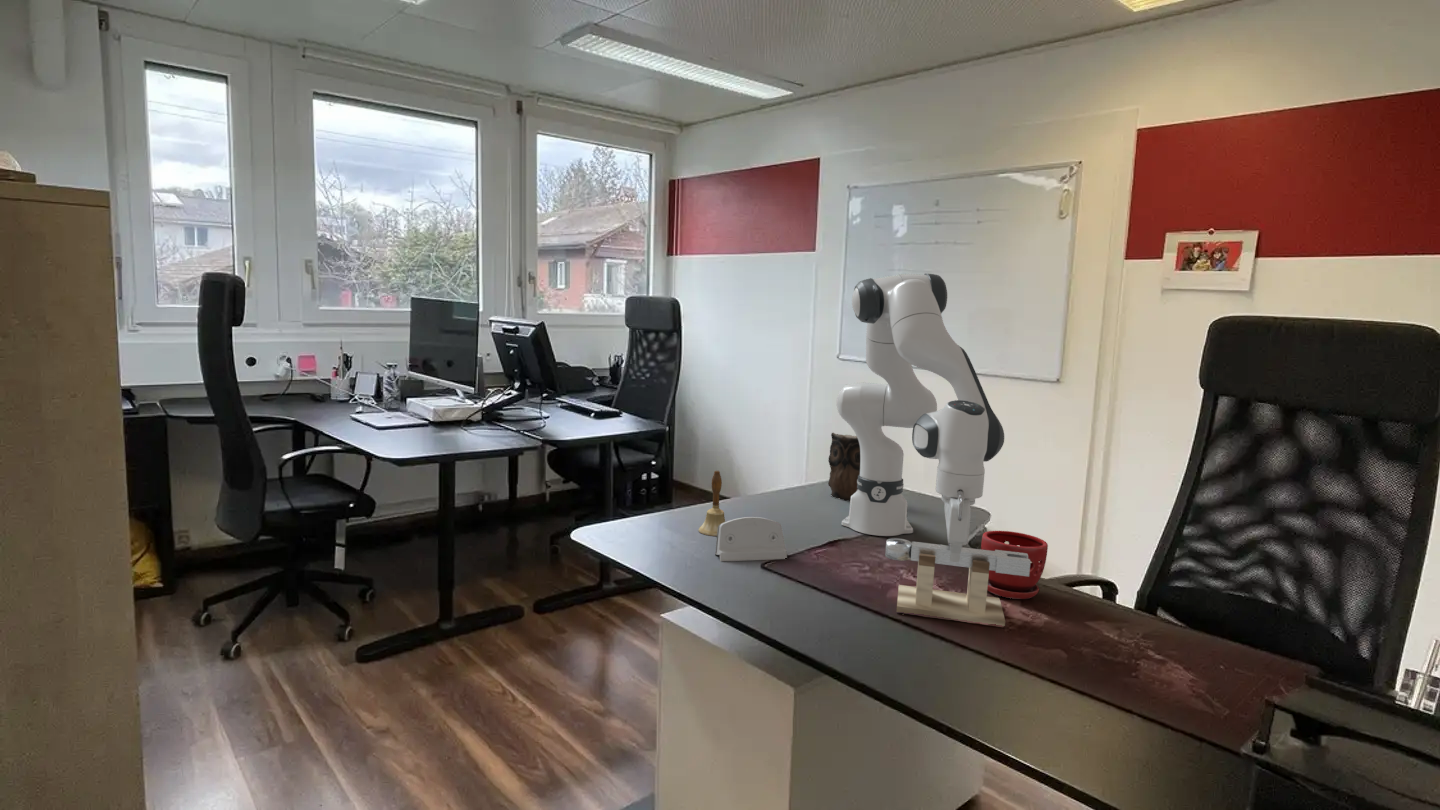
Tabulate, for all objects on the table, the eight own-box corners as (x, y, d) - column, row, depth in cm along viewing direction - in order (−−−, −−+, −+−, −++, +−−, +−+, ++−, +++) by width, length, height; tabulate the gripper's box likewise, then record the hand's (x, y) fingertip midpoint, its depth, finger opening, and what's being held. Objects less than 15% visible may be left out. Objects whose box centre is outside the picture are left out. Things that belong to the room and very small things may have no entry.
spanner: (884, 558, 154) (885, 543, 153) (885, 551, 159) (886, 536, 158) (1029, 576, 147) (1030, 560, 147) (1025, 568, 152) (1027, 552, 152)
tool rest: (898, 591, 162) (902, 538, 161) (998, 605, 158) (1003, 550, 156) (896, 613, 151) (900, 556, 149) (1004, 628, 146) (1010, 570, 144)
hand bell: (734, 535, 196) (737, 474, 194) (702, 536, 194) (705, 474, 192) (726, 526, 204) (728, 466, 202) (695, 527, 202) (697, 467, 200)
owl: (873, 503, 234) (878, 438, 231) (832, 502, 233) (836, 437, 230) (862, 493, 246) (867, 431, 243) (823, 492, 245) (827, 430, 242)
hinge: (718, 561, 176) (717, 517, 178) (714, 561, 181) (712, 518, 183) (788, 558, 180) (786, 515, 182) (782, 559, 185) (780, 516, 187)
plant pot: (1048, 606, 158) (1055, 550, 156) (982, 599, 160) (987, 543, 159) (1035, 584, 171) (1040, 531, 169) (973, 577, 173) (978, 525, 171)
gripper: (980, 499, 140) (973, 572, 142) (973, 475, 160) (967, 540, 162) (944, 495, 142) (937, 568, 143) (941, 472, 161) (936, 536, 163)
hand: (953, 553), depth 153 cm, fingers open, 8 cm apart
